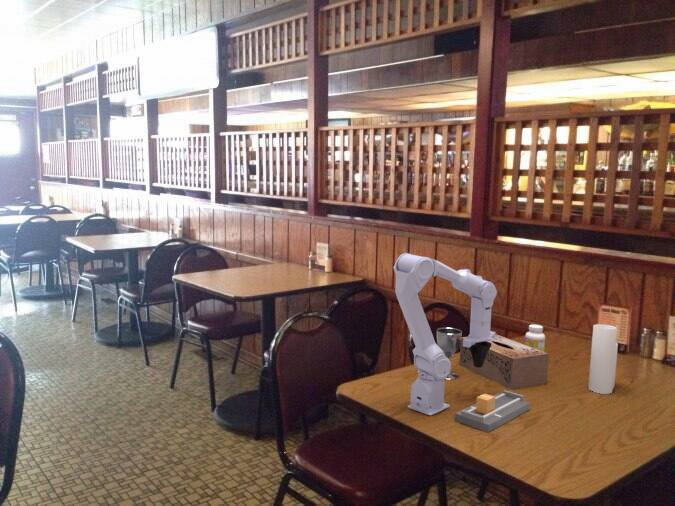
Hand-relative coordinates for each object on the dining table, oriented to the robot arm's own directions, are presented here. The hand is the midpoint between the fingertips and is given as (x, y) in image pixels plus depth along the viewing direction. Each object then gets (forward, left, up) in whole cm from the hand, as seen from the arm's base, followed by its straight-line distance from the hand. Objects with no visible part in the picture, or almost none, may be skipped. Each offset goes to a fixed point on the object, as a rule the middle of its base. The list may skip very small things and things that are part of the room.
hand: (478, 366), depth 170 cm
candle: (+36, -22, -10) cm, 43 cm away
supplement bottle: (+46, +5, -10) cm, 47 cm away
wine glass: (+10, +17, -10) cm, 22 cm away
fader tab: (-12, -10, -7) cm, 17 cm away
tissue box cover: (+25, +6, -10) cm, 28 cm away
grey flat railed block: (-8, -10, -9) cm, 16 cm away
